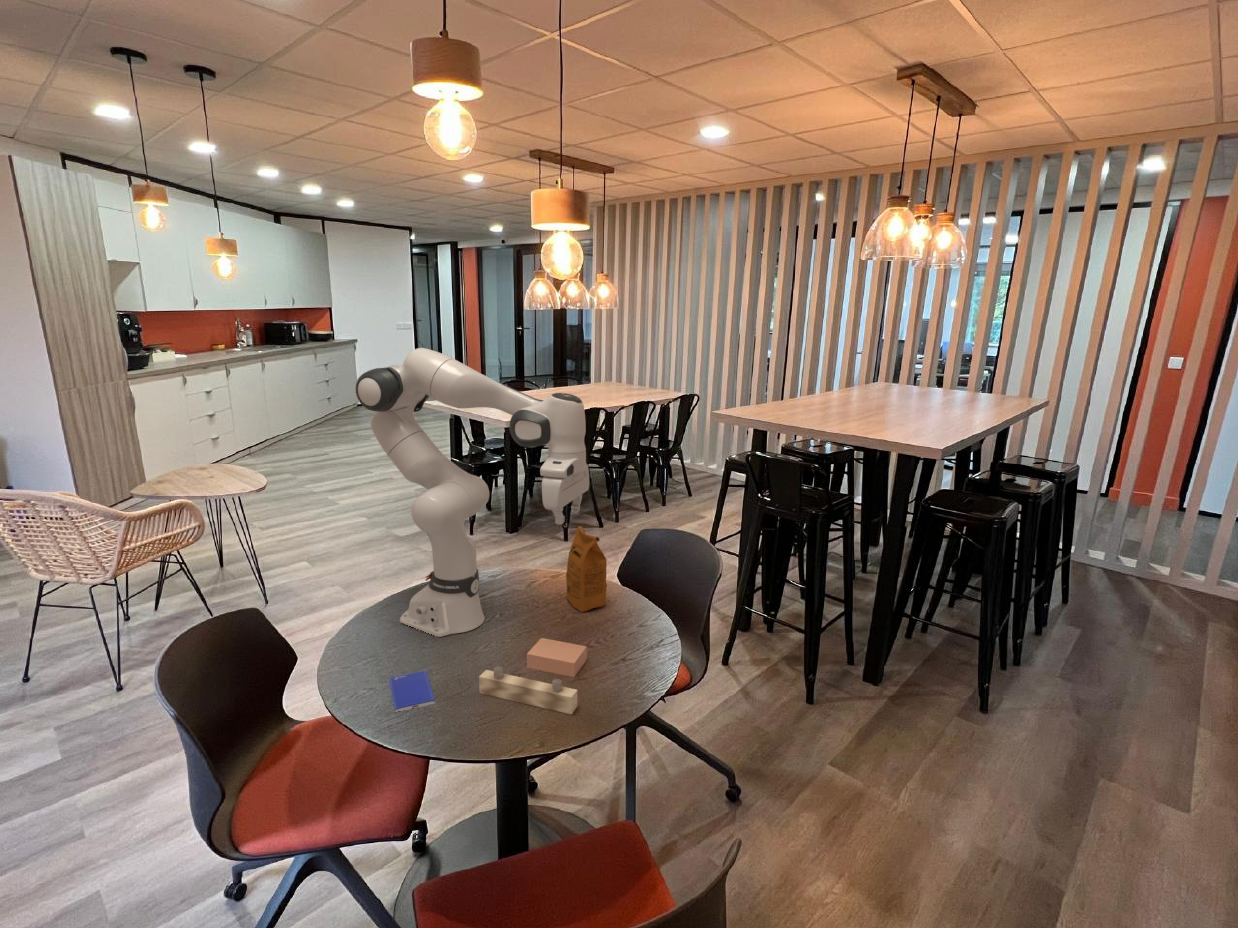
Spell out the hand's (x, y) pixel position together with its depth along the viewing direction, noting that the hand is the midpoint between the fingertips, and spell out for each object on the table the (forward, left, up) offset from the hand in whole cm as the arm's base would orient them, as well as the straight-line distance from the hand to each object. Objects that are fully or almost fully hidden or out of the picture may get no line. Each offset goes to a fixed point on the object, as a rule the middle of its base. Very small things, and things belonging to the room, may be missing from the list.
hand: (568, 517), depth 153 cm
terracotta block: (+1, -10, -34) cm, 35 cm away
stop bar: (+1, -26, -33) cm, 42 cm away
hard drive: (-24, -32, -34) cm, 52 cm away
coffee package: (-5, +23, -34) cm, 41 cm away
